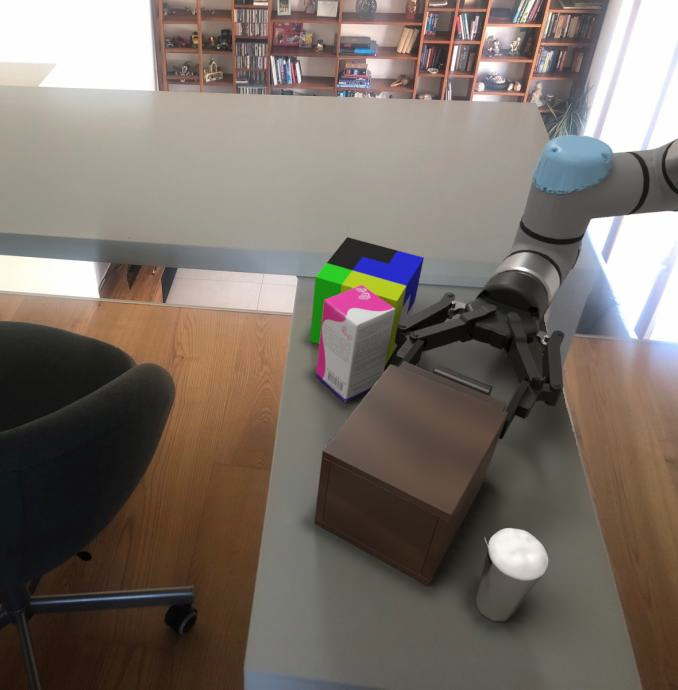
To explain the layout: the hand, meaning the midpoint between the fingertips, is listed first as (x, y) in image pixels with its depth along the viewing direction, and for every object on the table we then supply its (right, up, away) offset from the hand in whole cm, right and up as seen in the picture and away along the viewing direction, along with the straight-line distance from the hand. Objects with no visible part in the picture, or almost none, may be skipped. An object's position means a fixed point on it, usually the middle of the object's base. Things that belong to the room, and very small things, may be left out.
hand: (445, 405), depth 70 cm
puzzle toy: (-4, +8, +20) cm, 22 cm away
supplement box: (-7, +2, +13) cm, 15 cm away
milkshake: (+1, -17, -9) cm, 19 cm away
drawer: (-2, -6, +2) cm, 7 cm away
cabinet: (-5, -10, -1) cm, 11 cm away
